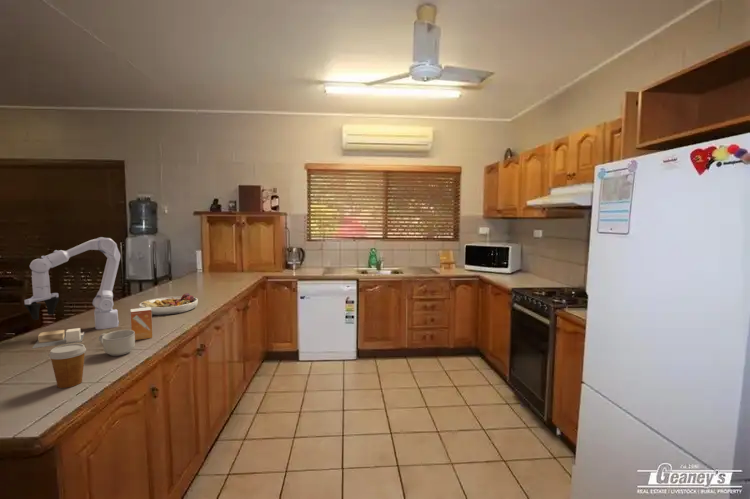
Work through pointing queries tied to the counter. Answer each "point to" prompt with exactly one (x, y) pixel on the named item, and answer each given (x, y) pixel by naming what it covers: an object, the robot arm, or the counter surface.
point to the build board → (56, 342)
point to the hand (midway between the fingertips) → (43, 317)
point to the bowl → (170, 304)
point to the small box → (141, 322)
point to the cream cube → (73, 335)
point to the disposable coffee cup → (68, 364)
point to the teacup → (118, 342)
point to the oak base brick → (51, 336)
